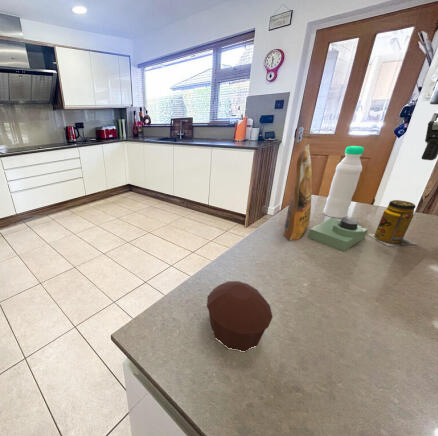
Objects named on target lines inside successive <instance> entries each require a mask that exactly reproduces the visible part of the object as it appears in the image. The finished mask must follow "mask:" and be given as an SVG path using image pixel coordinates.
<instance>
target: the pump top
mask: <svg viewBox="0 0 438 436" xmlns="http://www.w3.org/2000/svg"><path fill="white" fill-rule="evenodd" d="M340 221H341V222H340V225H339V226H340V227H342V228H344V229H349V230H356V228H357V226H358V225H359V221H357V220H355V219H352V218H346V217H344V218H340Z"/></svg>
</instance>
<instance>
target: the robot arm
mask: <svg viewBox="0 0 438 436" xmlns="http://www.w3.org/2000/svg"><path fill="white" fill-rule="evenodd" d="M429 105H436V106H437V105H438V81H437V82H436V85H435V87H434V89H433V92H432V95H431V97H430V99H429ZM424 140H425V143H426V147H425V148H424V151H423V153H422V155H421V159H422V160H424V161H434V160H436V159H437V157H438V111H437V112H435V113H433V114H432V117H431V119H430V120H429V121H428V123H427V129H426V135H425V138H424Z"/></svg>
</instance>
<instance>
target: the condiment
mask: <svg viewBox="0 0 438 436" xmlns="http://www.w3.org/2000/svg"><path fill="white" fill-rule="evenodd" d="M415 209H416V204H415V203H413V202H411V201H406V200H400V199H394V200H393V199H392V200H390V201H389V202H388V205H387V207H386V208H385V209H384V211H383V212H382V216H381V218H380V220H379V223H378V225H377V228H376V230H375V232H374V233H367V236H369V237H370V238H372V239H374V240H376V241H378V242H379V243H381V244H384V245H385V246H387V247H392V246H393V247H395V246H396V247H397V246H398V247H399V246H411V245H417V243H416V242H413V241H411V240H409V239H407V238H405V235H406V233H407V231H408V229H409V227H410V225H411V222H412V221H413V218H414V215H415V214H414V212H415Z"/></svg>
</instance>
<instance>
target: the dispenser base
mask: <svg viewBox="0 0 438 436" xmlns="http://www.w3.org/2000/svg"><path fill="white" fill-rule="evenodd" d="M340 222H341V220H339V219H337V218H333V217H330V218H329V219H327V220H325V221H323V222H321V223H319V224H317V225H315V226H312V227H311V228H309V231H308V235H307V238H308V239H309V240H313V241H316V242H317V243H321V244H323V245H326V246H329V247H331V248H333V249H336V250H339V251H341V252H346V251H347V250H349V249H351V248H352V247H353V246H355V245H356V244H358V243H360V242H362V241H363V240H365V238H366V236H367V234H368V231H369V228H366V227H363V226H361V225H359V224H358V226H357V228H356V230H349V229H344V228H342V227H340V226H339V225H340Z"/></svg>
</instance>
